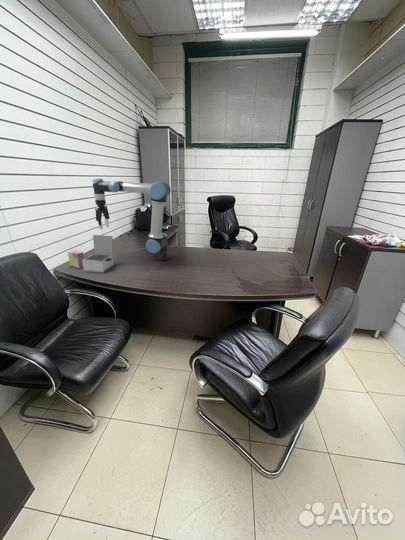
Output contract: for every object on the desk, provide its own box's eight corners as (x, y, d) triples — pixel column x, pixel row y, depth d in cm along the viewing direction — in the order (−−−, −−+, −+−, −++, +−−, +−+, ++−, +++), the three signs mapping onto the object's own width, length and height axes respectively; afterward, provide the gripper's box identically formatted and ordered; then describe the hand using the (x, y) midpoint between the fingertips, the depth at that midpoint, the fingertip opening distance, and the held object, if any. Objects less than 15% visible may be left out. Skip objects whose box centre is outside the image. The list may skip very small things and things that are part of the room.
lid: (112, 255, 175) (114, 254, 178) (111, 236, 172) (113, 236, 174) (94, 253, 177) (96, 253, 179) (93, 234, 173) (95, 234, 176)
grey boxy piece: (116, 265, 178) (114, 255, 175) (106, 273, 164) (104, 261, 161) (93, 263, 180) (91, 253, 177) (81, 270, 167) (79, 259, 163)
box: (85, 265, 176) (83, 251, 171) (79, 268, 171) (76, 253, 166) (76, 263, 180) (74, 249, 175) (70, 265, 175) (67, 251, 170)
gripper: (103, 198, 183) (107, 225, 192) (87, 200, 163) (92, 230, 172) (111, 198, 182) (115, 225, 191) (96, 200, 162) (101, 231, 171)
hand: (104, 227), depth 181 cm, fingers open, 9 cm apart
